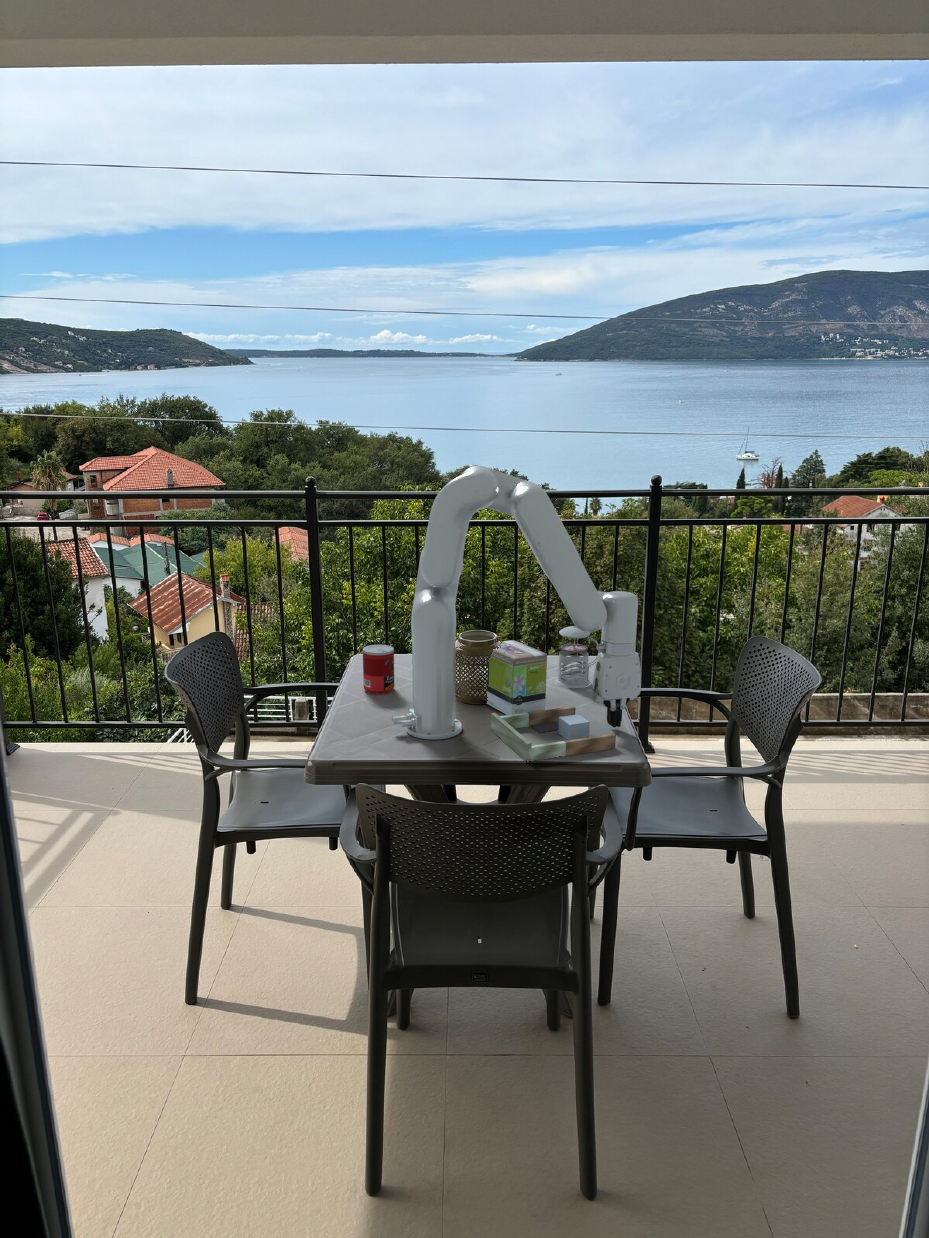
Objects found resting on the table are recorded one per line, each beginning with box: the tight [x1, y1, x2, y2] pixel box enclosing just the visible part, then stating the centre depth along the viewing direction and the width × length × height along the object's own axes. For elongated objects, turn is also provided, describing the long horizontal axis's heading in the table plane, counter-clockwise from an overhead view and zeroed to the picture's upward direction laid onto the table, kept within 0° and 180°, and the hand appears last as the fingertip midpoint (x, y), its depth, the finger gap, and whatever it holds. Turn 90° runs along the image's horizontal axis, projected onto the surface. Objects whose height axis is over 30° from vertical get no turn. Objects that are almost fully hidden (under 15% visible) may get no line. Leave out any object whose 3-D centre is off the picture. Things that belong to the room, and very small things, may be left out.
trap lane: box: [490, 705, 617, 763], centre depth 192 cm, size 21×19×4 cm
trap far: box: [530, 722, 559, 734], centre depth 198 cm, size 6×4×1 cm
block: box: [557, 714, 590, 741], centre depth 194 cm, size 5×5×4 cm
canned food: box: [362, 644, 395, 695], centre depth 222 cm, size 8×8×11 cm
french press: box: [553, 625, 601, 689], centre depth 227 cm, size 10×12×25 cm
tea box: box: [486, 639, 548, 715], centre depth 210 cm, size 15×10×15 cm, turn 30°
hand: (613, 724), depth 197 cm, fingers closed
